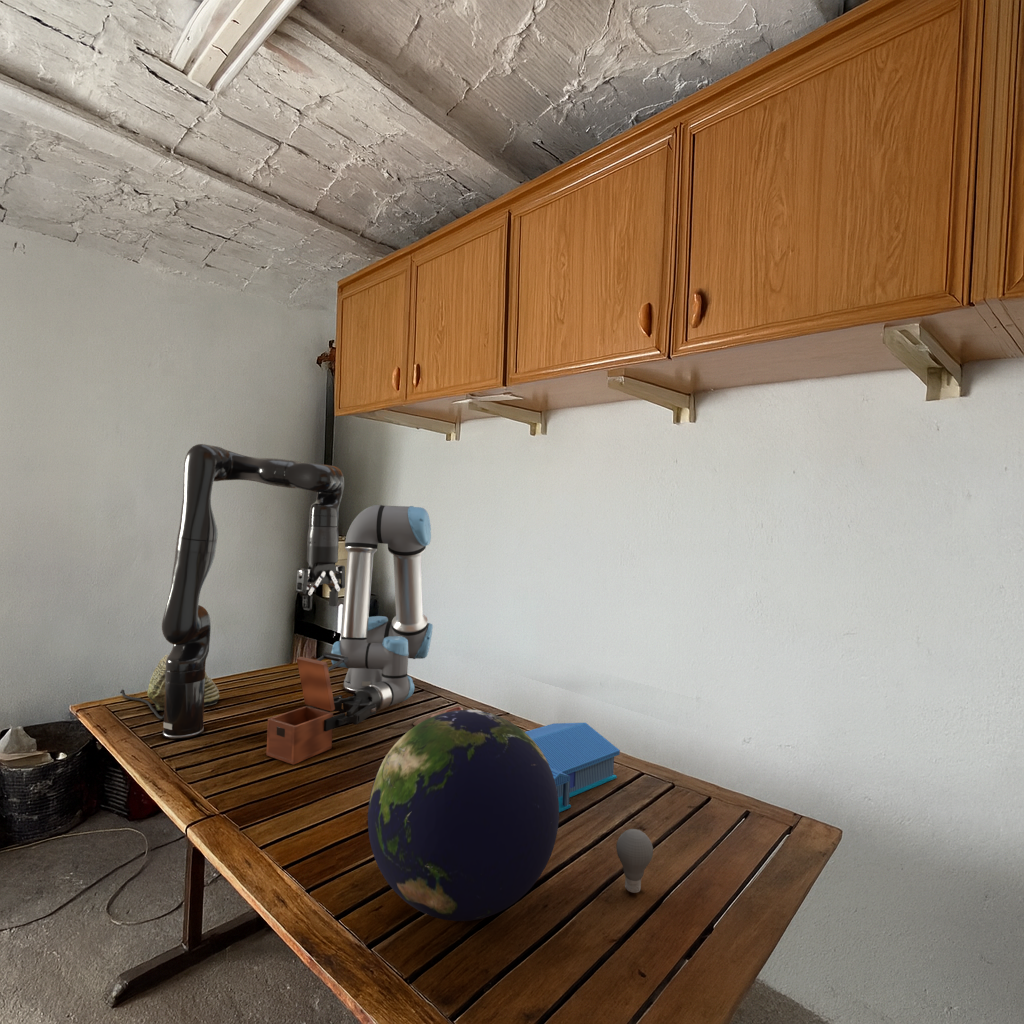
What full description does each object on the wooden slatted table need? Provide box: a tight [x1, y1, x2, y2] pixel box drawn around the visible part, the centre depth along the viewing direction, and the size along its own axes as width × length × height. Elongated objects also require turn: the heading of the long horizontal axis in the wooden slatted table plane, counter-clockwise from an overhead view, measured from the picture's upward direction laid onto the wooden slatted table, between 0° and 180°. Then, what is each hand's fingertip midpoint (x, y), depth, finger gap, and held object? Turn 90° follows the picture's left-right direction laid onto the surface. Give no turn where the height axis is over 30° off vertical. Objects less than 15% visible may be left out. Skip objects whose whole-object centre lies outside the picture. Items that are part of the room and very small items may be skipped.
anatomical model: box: [412, 706, 464, 727], centre depth 179 cm, size 13×4×12 cm
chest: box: [265, 705, 334, 766], centre depth 156 cm, size 12×9×9 cm
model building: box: [524, 722, 621, 813], centre depth 143 cm, size 39×24×10 cm, turn 132°
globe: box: [367, 709, 560, 922], centre depth 100 cm, size 30×30×30 cm
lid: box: [296, 651, 348, 713], centre depth 163 cm, size 13×9×9 cm
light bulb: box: [615, 828, 654, 894], centre depth 106 cm, size 6×6×10 cm
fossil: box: [147, 654, 221, 712], centre depth 185 cm, size 9×18×15 cm, turn 132°
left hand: (320, 607), depth 160 cm, fingers open, 8 cm apart
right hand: (310, 721), depth 159 cm, fingers closed on chest, 9 cm apart
